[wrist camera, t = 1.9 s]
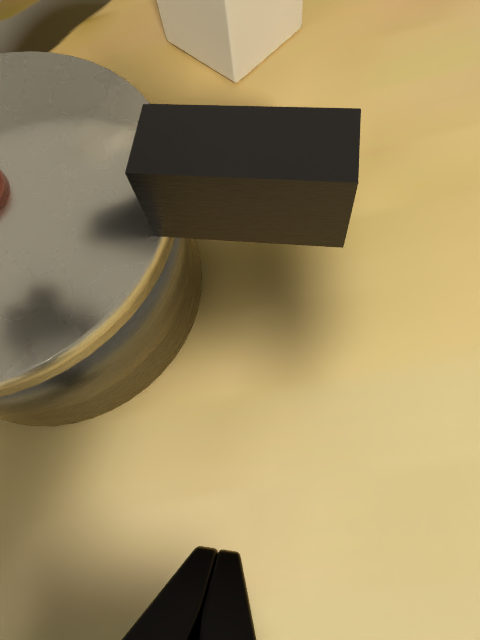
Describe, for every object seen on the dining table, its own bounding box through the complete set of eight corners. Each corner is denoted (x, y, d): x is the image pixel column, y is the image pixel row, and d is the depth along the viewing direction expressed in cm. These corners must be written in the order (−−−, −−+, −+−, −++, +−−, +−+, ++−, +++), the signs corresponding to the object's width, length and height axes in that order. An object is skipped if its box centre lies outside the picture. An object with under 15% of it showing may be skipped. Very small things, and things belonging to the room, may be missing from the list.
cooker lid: (-261, 381, 18) (-448, 339, 14) (-100, 76, 24) (-193, -27, 20) (329, 448, 15) (349, 425, 11) (348, 82, 21) (366, -37, 17)
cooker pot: (-109, 486, 24) (-257, 479, 17) (-114, 236, 30) (-225, 161, 23) (361, 326, 25) (389, 263, 18) (263, 115, 31) (258, 11, 24)
